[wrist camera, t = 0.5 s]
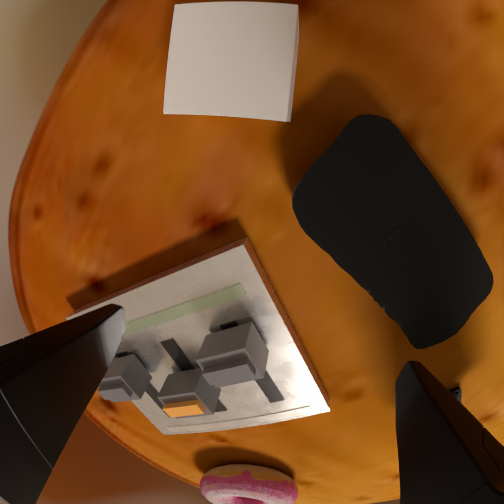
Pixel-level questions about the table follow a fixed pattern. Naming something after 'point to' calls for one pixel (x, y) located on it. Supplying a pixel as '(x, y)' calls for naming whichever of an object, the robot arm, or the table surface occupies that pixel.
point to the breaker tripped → (188, 395)
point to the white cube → (232, 60)
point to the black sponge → (393, 230)
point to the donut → (248, 485)
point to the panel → (210, 321)
